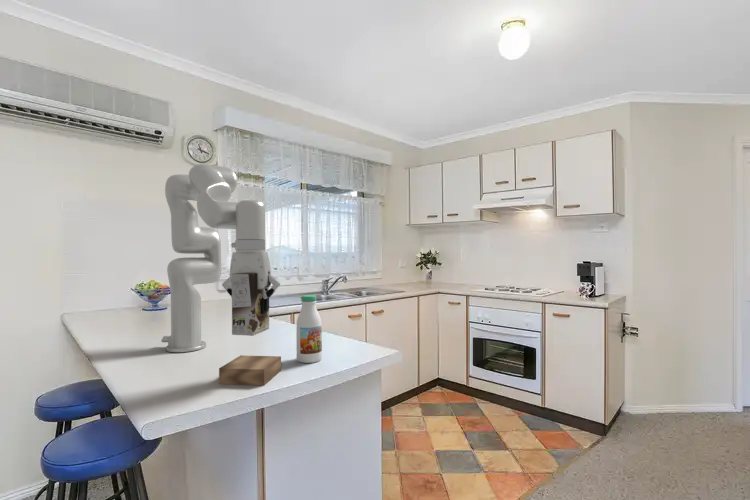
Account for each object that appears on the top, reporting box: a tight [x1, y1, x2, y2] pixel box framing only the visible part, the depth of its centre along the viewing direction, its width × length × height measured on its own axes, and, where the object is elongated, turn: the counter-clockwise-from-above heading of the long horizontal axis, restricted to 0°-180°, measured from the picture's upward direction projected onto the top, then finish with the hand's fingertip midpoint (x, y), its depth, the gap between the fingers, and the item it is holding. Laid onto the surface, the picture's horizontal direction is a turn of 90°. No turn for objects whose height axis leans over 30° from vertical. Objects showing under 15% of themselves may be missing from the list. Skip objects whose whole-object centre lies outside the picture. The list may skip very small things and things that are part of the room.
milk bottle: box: [295, 294, 323, 364], centre depth 120 cm, size 8×8×20 cm
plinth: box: [218, 354, 282, 386], centre depth 104 cm, size 12×12×4 cm
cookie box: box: [231, 273, 270, 337], centre depth 104 cm, size 9×6×16 cm
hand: (251, 312), depth 104 cm, fingers closed on cookie box, 6 cm apart
